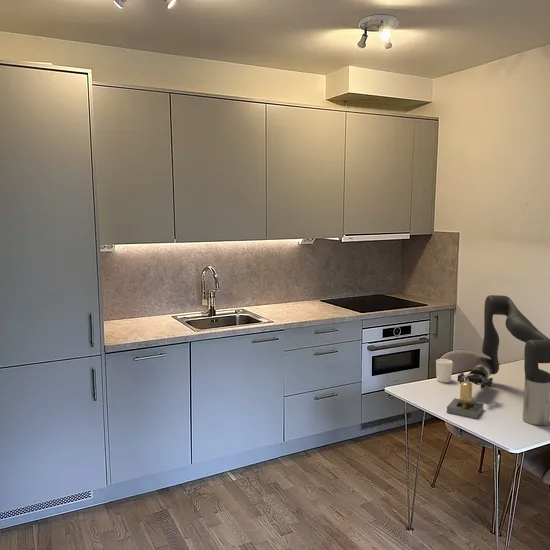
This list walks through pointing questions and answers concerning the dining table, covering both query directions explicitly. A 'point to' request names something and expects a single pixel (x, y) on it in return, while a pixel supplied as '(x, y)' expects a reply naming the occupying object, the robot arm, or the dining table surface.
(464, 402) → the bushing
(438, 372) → the white cup
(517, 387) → the dining table surface
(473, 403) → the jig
